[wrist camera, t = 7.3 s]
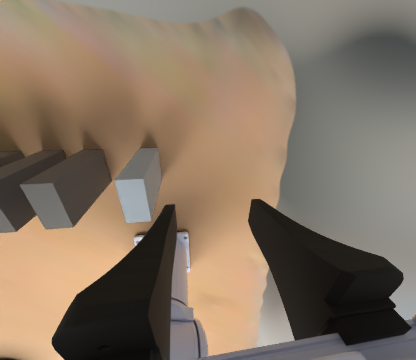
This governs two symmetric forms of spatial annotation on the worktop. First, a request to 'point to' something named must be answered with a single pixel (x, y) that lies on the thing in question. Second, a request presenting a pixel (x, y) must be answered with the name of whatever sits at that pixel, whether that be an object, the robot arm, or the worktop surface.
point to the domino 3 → (140, 185)
